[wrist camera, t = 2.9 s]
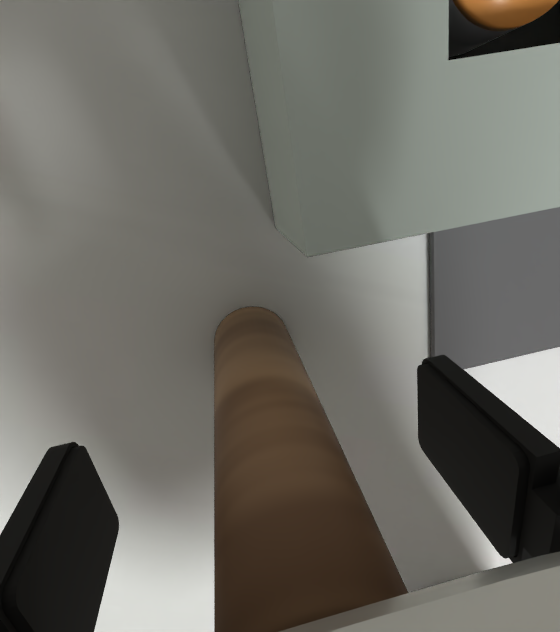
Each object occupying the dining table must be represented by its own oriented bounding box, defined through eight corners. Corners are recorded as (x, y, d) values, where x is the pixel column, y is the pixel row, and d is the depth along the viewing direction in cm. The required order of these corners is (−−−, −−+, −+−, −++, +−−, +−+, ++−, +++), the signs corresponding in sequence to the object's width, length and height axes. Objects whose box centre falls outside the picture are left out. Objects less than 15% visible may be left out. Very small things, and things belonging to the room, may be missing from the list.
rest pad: (566, 340, 21) (573, 343, 21) (431, 372, 20) (435, 376, 20) (587, 190, 18) (595, 190, 18) (429, 221, 17) (433, 222, 17)
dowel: (292, 365, 19) (431, 706, 7) (223, 381, 19) (239, 766, 7) (281, 299, 18) (429, 578, 6) (206, 315, 17) (189, 648, 5)
